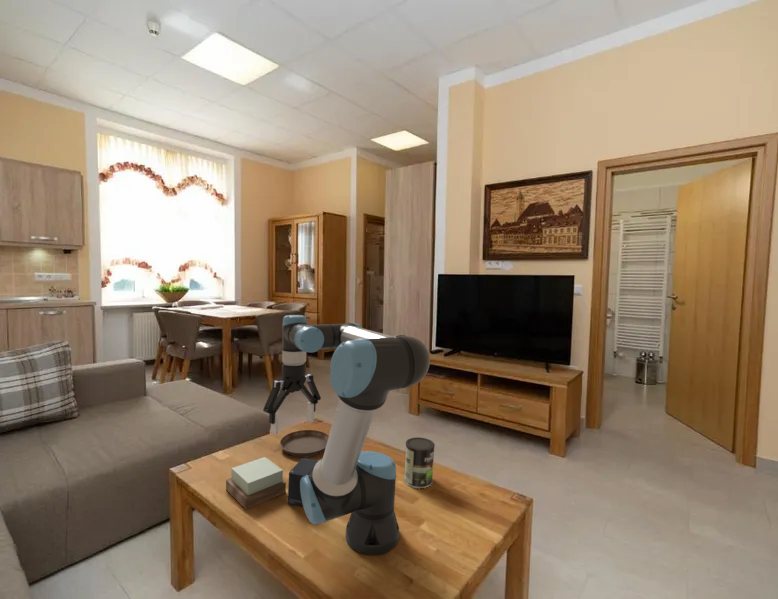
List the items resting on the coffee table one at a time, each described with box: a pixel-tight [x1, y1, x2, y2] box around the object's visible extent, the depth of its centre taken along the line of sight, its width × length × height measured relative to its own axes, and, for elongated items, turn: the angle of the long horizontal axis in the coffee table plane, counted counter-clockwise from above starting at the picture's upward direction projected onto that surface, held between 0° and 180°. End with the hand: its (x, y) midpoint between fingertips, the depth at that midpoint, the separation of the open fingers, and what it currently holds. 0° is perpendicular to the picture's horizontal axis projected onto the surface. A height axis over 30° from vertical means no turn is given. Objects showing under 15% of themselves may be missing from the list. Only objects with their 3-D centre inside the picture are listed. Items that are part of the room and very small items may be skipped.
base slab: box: [225, 477, 287, 510], centre depth 130 cm, size 14×14×4 cm
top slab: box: [231, 456, 284, 495], centre depth 130 cm, size 12×12×4 cm
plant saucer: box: [279, 429, 329, 458], centre depth 162 cm, size 21×21×3 cm
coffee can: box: [403, 437, 436, 490], centre depth 140 cm, size 10×10×14 cm
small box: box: [287, 457, 319, 507], centre depth 128 cm, size 11×6×10 cm, turn 168°
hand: (293, 427), depth 127 cm, fingers open, 13 cm apart
